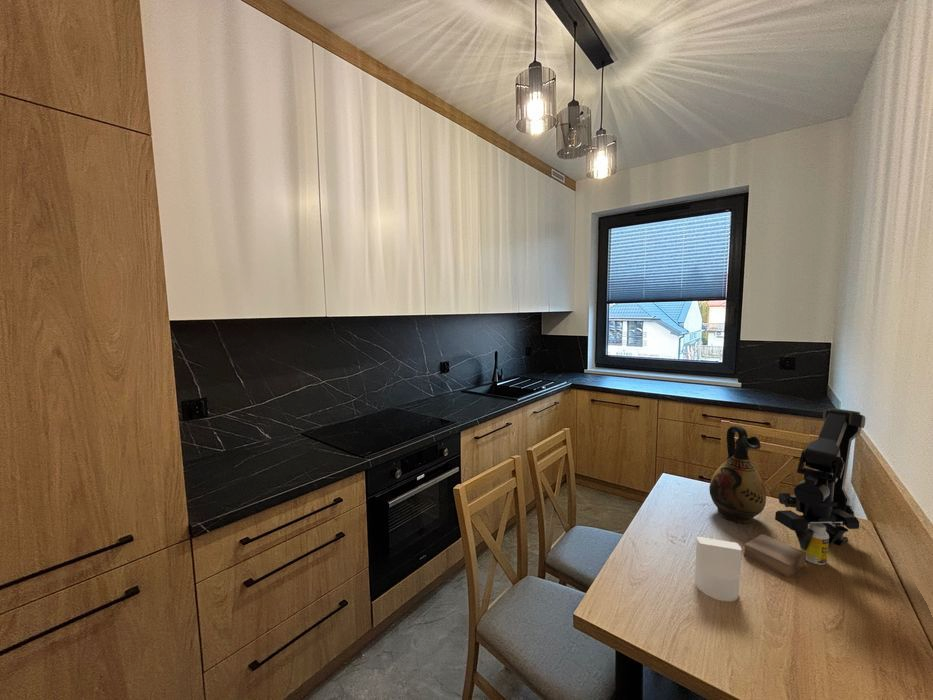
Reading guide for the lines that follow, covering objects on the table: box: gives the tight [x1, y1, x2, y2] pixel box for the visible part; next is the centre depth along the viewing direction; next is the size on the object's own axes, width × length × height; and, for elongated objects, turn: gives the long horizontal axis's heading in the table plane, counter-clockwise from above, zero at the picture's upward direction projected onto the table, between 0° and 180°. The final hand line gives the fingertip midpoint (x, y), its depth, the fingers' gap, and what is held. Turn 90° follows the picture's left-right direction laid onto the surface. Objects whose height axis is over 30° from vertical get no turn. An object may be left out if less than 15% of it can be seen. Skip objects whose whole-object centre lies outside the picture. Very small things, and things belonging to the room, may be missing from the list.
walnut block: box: [743, 533, 806, 578], centre depth 103 cm, size 10×10×4 cm
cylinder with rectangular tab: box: [694, 536, 742, 602], centre depth 92 cm, size 9×9×12 cm
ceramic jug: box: [708, 425, 767, 524], centre depth 125 cm, size 17×15×30 cm
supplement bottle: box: [799, 523, 829, 566], centre depth 103 cm, size 6×6×10 cm
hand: (813, 548), depth 103 cm, fingers closed on supplement bottle, 5 cm apart
